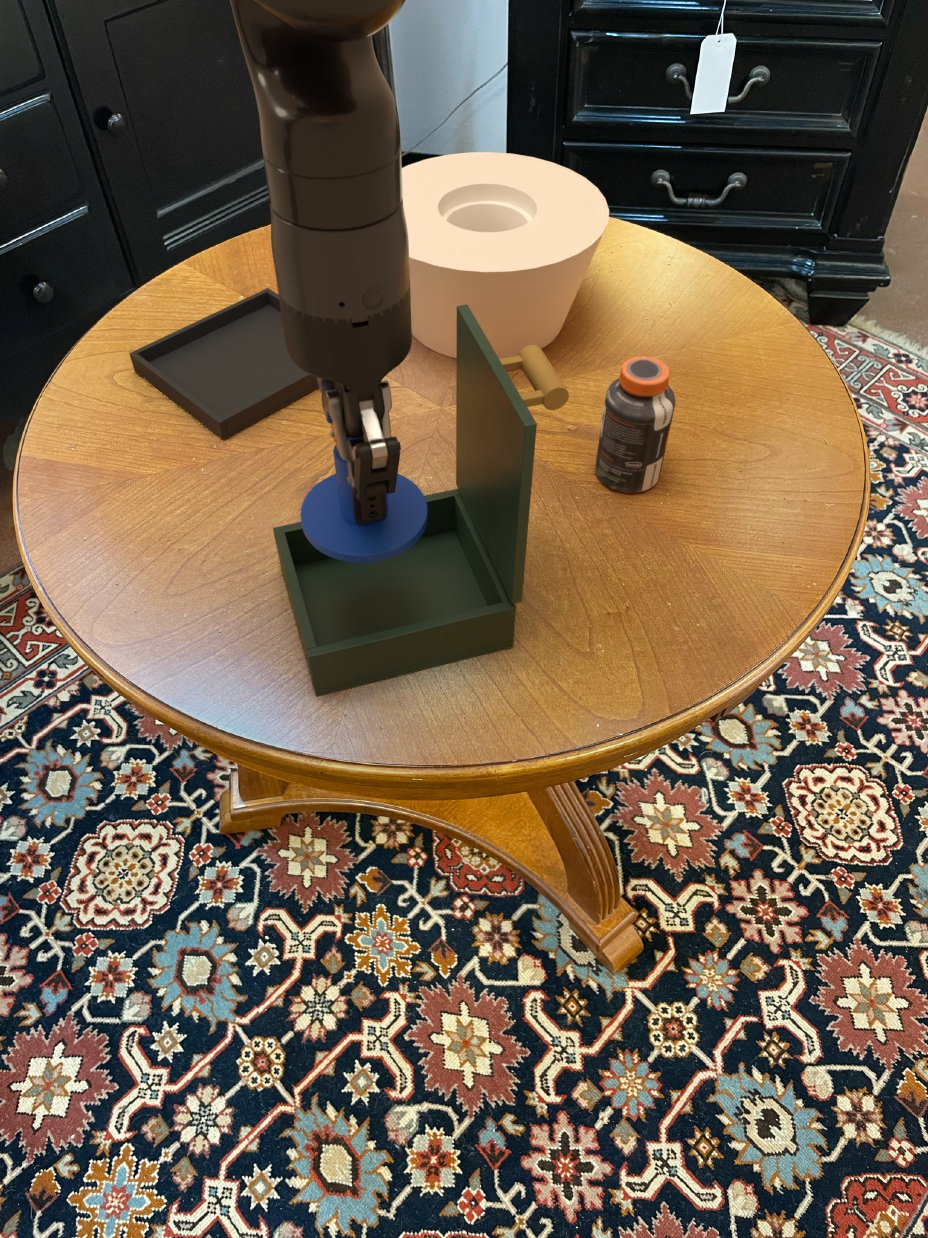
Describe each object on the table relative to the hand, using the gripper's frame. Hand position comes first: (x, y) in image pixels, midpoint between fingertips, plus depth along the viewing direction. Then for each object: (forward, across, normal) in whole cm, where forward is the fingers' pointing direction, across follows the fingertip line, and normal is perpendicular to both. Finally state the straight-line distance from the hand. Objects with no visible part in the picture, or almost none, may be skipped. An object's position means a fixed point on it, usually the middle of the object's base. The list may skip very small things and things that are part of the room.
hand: (363, 500), depth 67 cm
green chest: (+12, 0, +2) cm, 12 cm away
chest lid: (-1, 0, +9) cm, 9 cm away
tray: (+12, -35, -4) cm, 38 cm away
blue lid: (+2, 0, 0) cm, 2 cm away
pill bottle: (+12, -9, +26) cm, 30 cm away
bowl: (+12, -37, +22) cm, 45 cm away
